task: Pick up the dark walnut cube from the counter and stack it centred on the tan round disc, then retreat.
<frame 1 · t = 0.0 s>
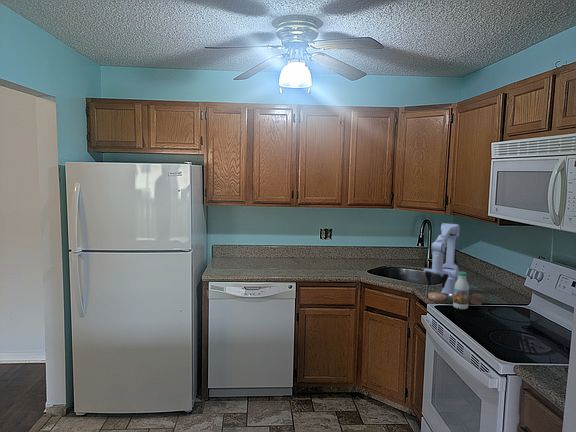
hand: (436, 286, 241), 10 cm above the counter, fingers open, 7 cm apart
walnut cube: (476, 303, 243), on the counter
milk bottle: (460, 307, 236), on the counter
tan round disc: (436, 298, 251), on the counter
grey tin: (452, 298, 253), on the counter
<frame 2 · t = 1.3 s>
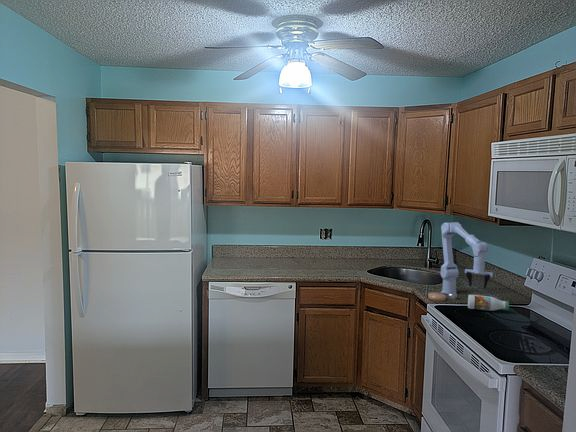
hand: (477, 286, 242), 10 cm above the counter, fingers open, 7 cm apart
milk bottle: (467, 301, 234), point 4 cm above the counter
everything else where it was.
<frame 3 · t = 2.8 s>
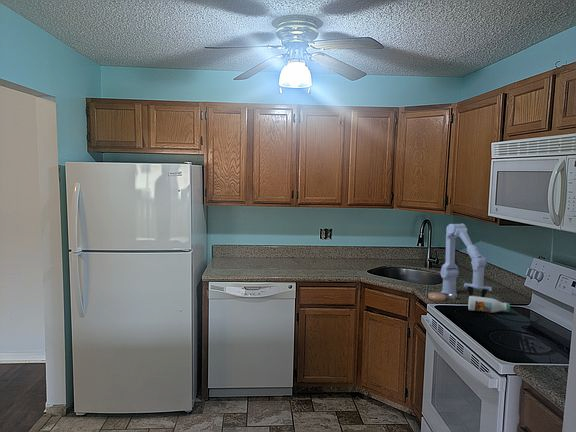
hand: (476, 301, 243), 1 cm above the counter, fingers closed on walnut cube, 5 cm apart
walnut cube: (476, 303, 243), on the counter, touching gripper
milk bottle: (468, 302, 232), point 4 cm above the counter
everything else where it was.
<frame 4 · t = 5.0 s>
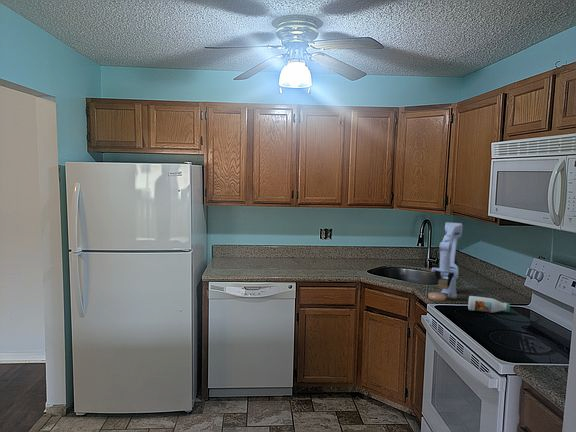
hand: (443, 284, 249), 9 cm above the counter, fingers closed on walnut cube, 5 cm apart
walnut cube: (443, 287, 249), point 7 cm above the counter, touching gripper
everything else where it was.
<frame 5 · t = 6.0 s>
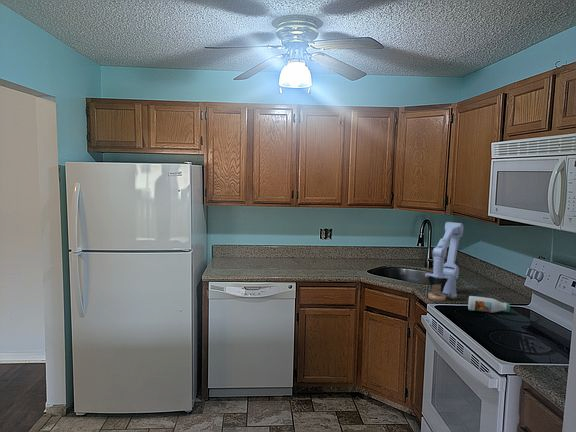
hand: (437, 290, 251), 5 cm above the counter, fingers closed on walnut cube, 5 cm apart
walnut cube: (437, 293, 251), point 3 cm above the counter, touching gripper
everything else where it was.
when the fingers open (5 cm above the counter, at t = 6.9 s): walnut cube stays where it is, resting on tan round disc.
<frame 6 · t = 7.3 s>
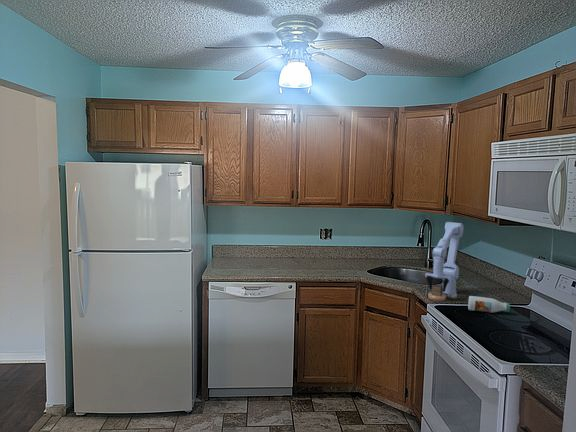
hand: (437, 290, 251), 5 cm above the counter, fingers open, 7 cm apart
walnut cube: (437, 294, 251), point 2 cm above the counter, touching tan round disc
everything else where it was.
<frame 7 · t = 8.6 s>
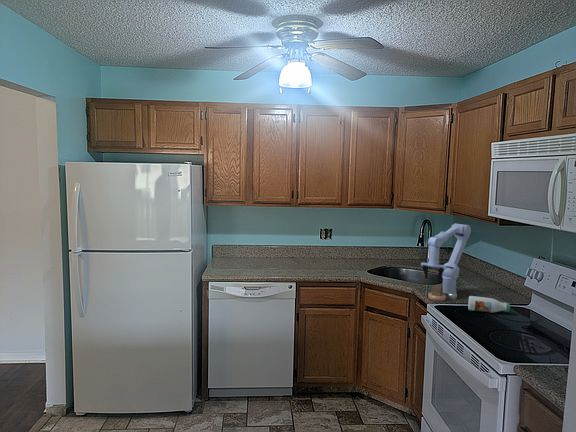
hand: (432, 279, 256), 10 cm above the counter, fingers open, 7 cm apart
nothing on the counter moved.
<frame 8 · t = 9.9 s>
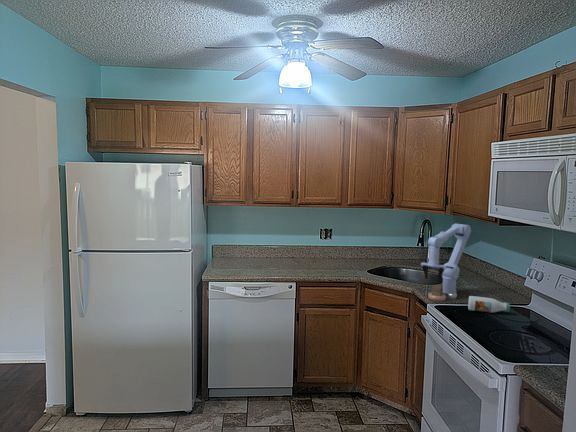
hand: (432, 279, 256), 10 cm above the counter, fingers open, 7 cm apart
nothing on the counter moved.
at the end: walnut cube 0.1 cm off-centre on the tan round disc, point 2.5 cm above the tan round disc's base; walnut cube tilted 0°; the gripper is holding nothing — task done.
